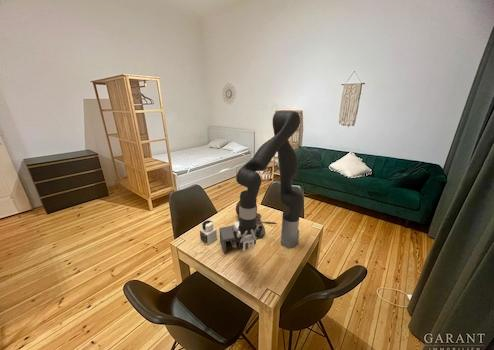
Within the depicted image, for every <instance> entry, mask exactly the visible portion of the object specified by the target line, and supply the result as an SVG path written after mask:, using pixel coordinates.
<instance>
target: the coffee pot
mask: <svg viewBox="0 0 494 350" xmlns="http://www.w3.org/2000/svg"><path fill="white" fill-rule="evenodd" d="M258 224H261V225H262V227H263V228H262V231H261V235H260V237H261V236H263V235H264V233H265V232H266V228H265V226H264V224H267V225H274V227H277V222H274V221H262V215H261V213H258V212H257V217H256V225H258ZM256 230H257V228H256V229H255V231H254V234H256Z"/></svg>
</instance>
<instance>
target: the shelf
mask: <svg viewBox="0 0 494 350" xmlns="http://www.w3.org/2000/svg"><path fill="white" fill-rule="evenodd" d="M232 229H234V224H233V225H228V226H222V227H219V228H218V230H219V231H218V232H219V242H220V246H221V248H222V252H223V254H224V255H227V246H226V245H227V243H226V242H230V244H231V247H232V248H237V242H236V240H235V238H234V234H233V231H232ZM247 249H249V243H245V250H247Z"/></svg>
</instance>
